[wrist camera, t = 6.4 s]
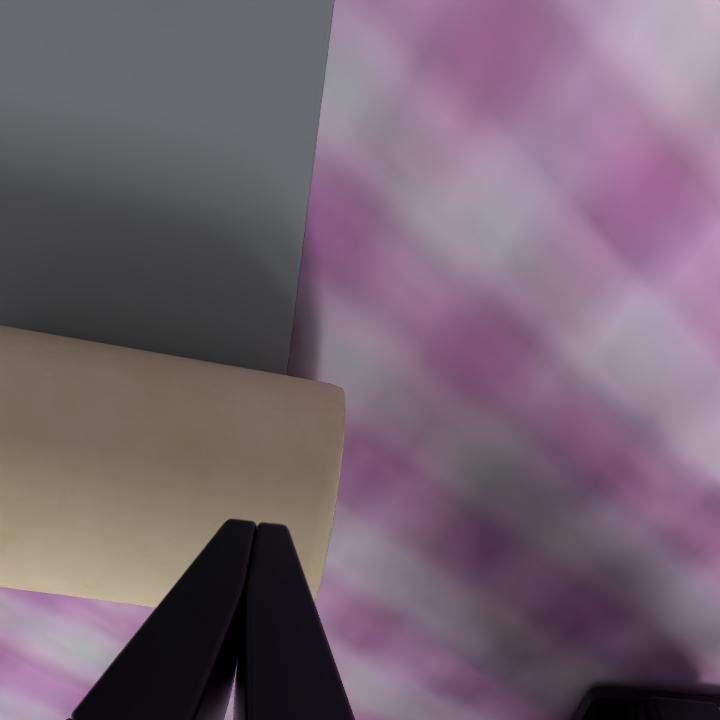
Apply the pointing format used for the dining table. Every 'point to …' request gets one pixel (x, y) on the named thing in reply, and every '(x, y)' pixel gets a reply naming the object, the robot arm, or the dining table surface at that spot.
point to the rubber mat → (159, 171)
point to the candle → (152, 464)
